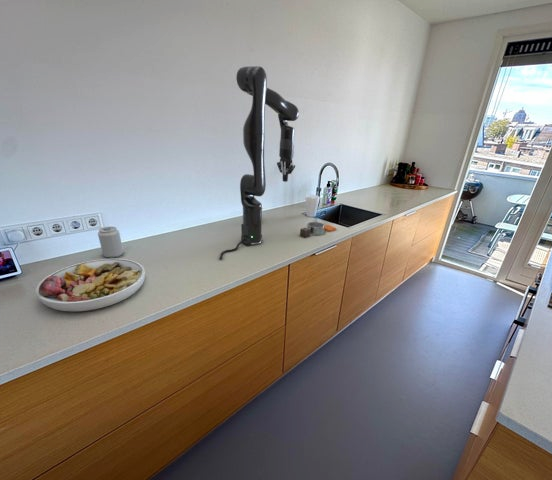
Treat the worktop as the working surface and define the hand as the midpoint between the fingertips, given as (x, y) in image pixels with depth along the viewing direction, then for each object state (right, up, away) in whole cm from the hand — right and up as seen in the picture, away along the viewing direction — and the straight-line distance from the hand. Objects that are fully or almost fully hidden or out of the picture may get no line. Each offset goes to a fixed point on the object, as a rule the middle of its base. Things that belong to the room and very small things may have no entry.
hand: (285, 181), depth 159 cm
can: (-72, -42, -35) cm, 90 cm away
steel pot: (+17, -27, +8) cm, 33 cm away
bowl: (-61, -54, -60) cm, 102 cm away
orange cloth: (+25, -25, +14) cm, 38 cm away
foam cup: (+16, -13, +37) cm, 42 cm away
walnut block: (+11, -30, +1) cm, 32 cm away
